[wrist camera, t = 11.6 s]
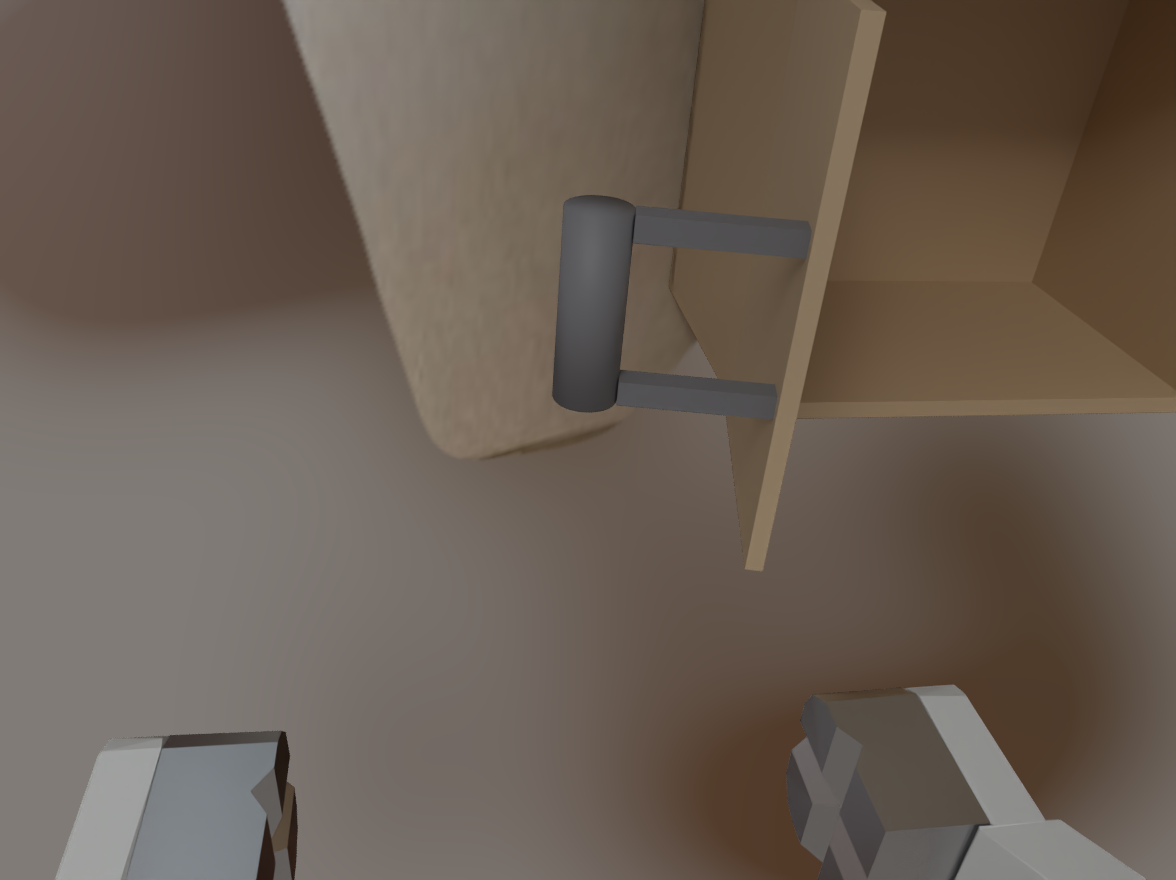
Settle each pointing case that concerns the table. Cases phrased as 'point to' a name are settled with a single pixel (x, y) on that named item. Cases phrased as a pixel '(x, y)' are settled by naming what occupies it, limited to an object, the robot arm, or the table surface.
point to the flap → (777, 239)
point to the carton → (963, 207)
